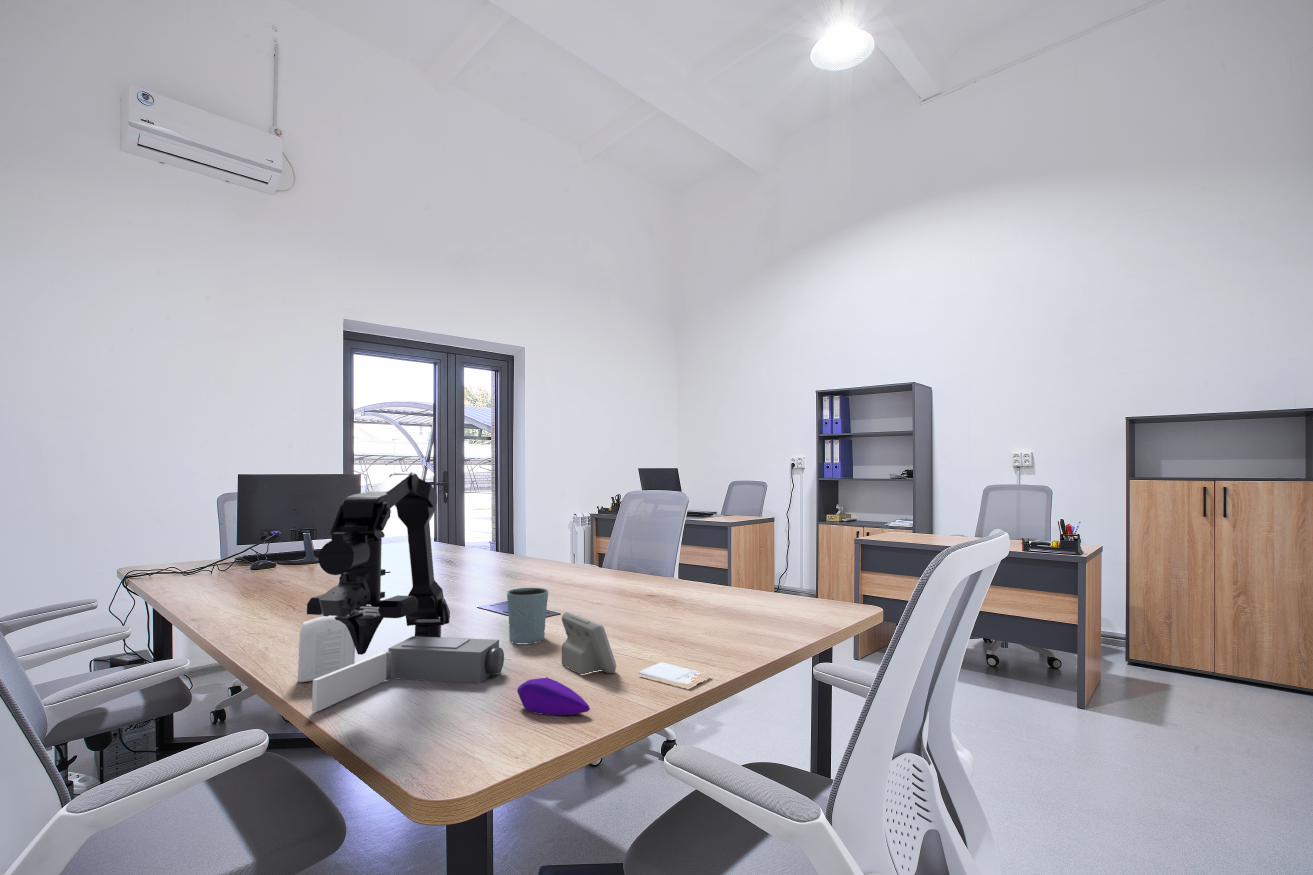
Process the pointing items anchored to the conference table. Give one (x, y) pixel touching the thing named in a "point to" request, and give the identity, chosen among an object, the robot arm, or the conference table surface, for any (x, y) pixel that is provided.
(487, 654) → the camera housing
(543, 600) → the teal cup
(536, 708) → the purple teardrop stone
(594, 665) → the digital clock
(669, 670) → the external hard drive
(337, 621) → the white upright block
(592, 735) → the conference table surface
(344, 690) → the side door
